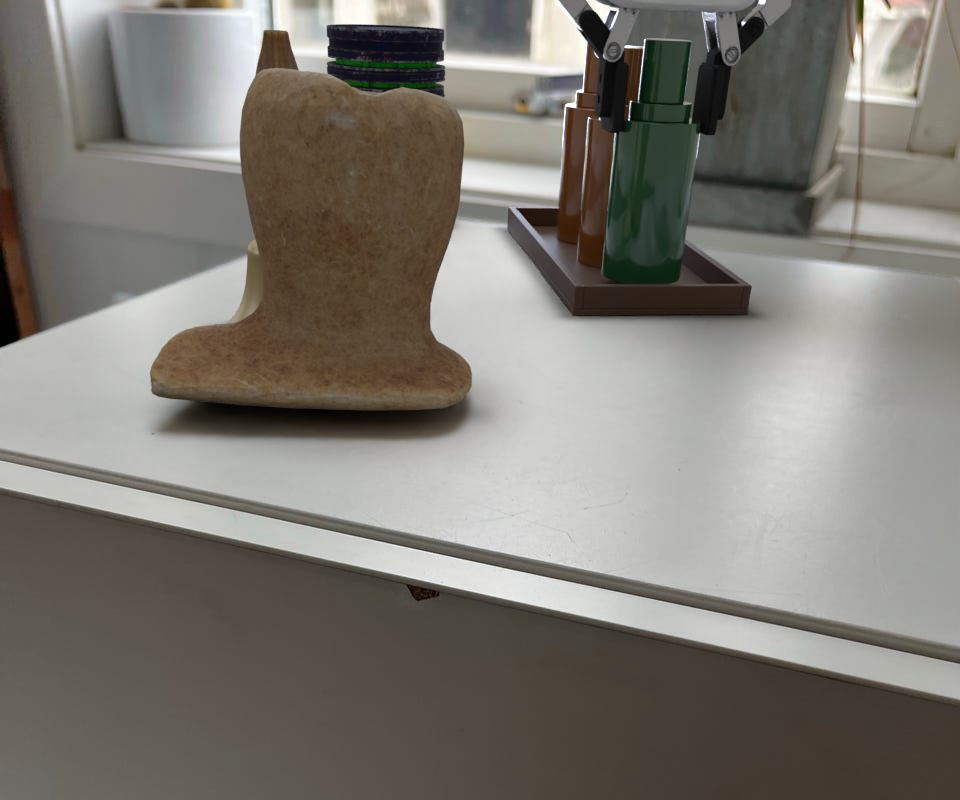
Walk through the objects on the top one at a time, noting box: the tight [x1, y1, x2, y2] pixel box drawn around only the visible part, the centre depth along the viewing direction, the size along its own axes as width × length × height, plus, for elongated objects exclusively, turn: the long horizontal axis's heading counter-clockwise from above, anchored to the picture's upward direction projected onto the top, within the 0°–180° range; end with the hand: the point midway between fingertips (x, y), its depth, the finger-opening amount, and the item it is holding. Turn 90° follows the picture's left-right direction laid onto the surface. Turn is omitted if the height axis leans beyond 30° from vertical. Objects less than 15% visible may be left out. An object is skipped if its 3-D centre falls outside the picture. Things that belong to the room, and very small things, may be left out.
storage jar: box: [326, 23, 446, 98], centre depth 87 cm, size 10×10×15 cm
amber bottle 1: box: [556, 41, 599, 245], centre depth 82 cm, size 6×6×14 cm
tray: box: [506, 206, 753, 316], centre depth 79 cm, size 12×27×2 cm, turn 8°
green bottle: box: [601, 37, 702, 284], centre depth 68 cm, size 6×6×14 cm
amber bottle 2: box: [576, 45, 644, 268], centre depth 75 cm, size 6×6×14 cm
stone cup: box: [149, 68, 473, 412], centre depth 49 cm, size 15×12×15 cm
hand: (657, 128), depth 67 cm, fingers closed on green bottle, 5 cm apart
